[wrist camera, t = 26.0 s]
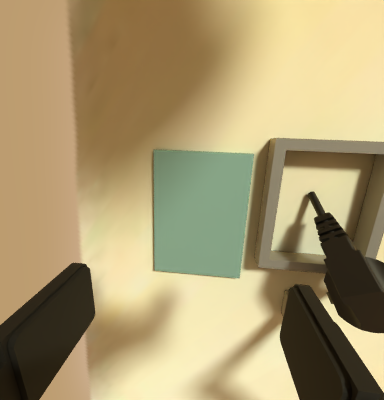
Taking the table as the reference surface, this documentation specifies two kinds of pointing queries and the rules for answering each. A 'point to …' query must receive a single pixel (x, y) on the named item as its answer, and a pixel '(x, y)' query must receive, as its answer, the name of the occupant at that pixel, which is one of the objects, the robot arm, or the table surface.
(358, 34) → the table surface
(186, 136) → the table surface
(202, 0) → the table surface
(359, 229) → the plug dock
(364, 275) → the power plug
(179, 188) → the mat
